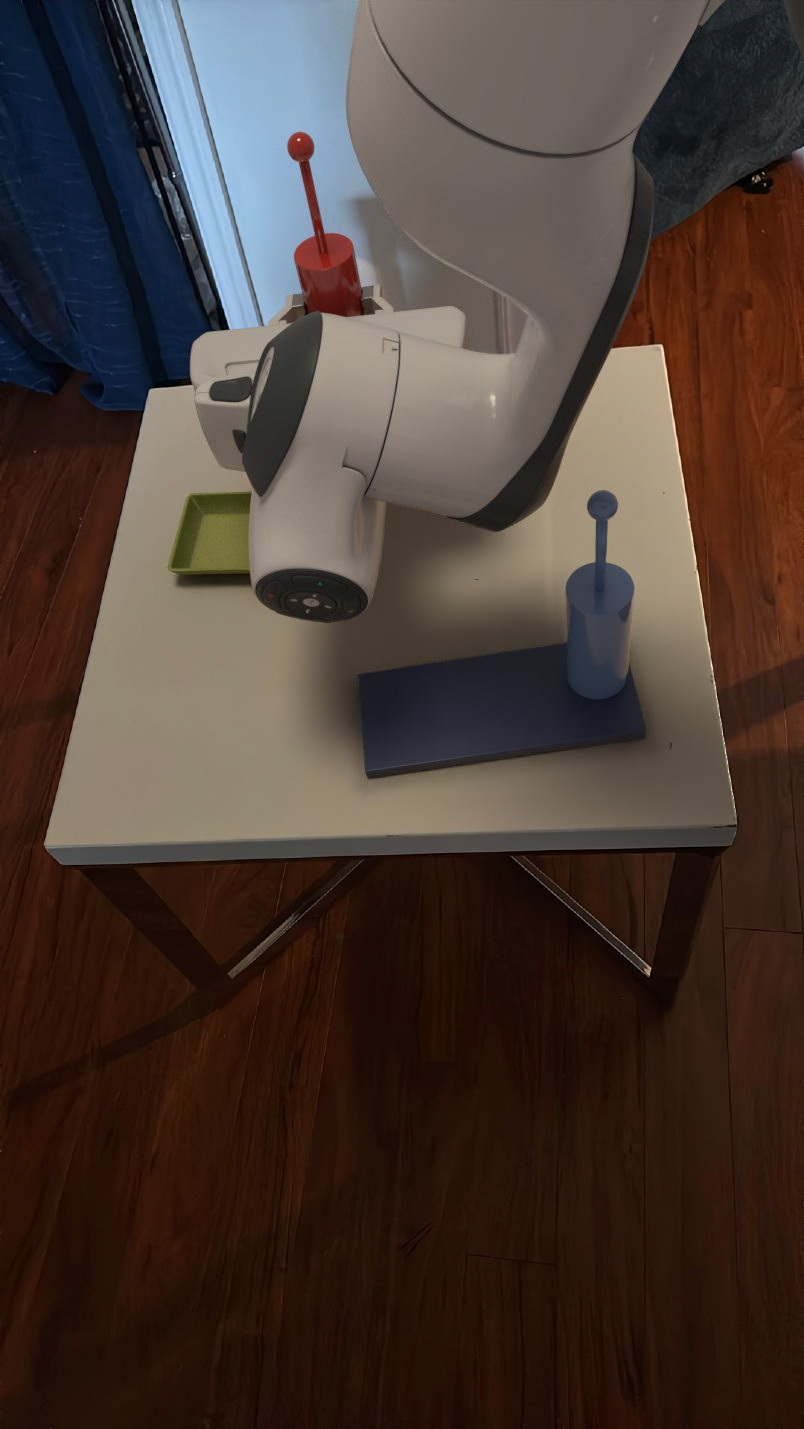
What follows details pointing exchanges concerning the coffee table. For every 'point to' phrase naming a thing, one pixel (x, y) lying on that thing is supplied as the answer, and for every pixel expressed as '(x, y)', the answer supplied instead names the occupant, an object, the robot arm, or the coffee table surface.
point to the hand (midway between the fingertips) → (335, 297)
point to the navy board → (485, 711)
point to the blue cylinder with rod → (599, 614)
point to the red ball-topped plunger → (324, 251)
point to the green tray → (213, 534)
